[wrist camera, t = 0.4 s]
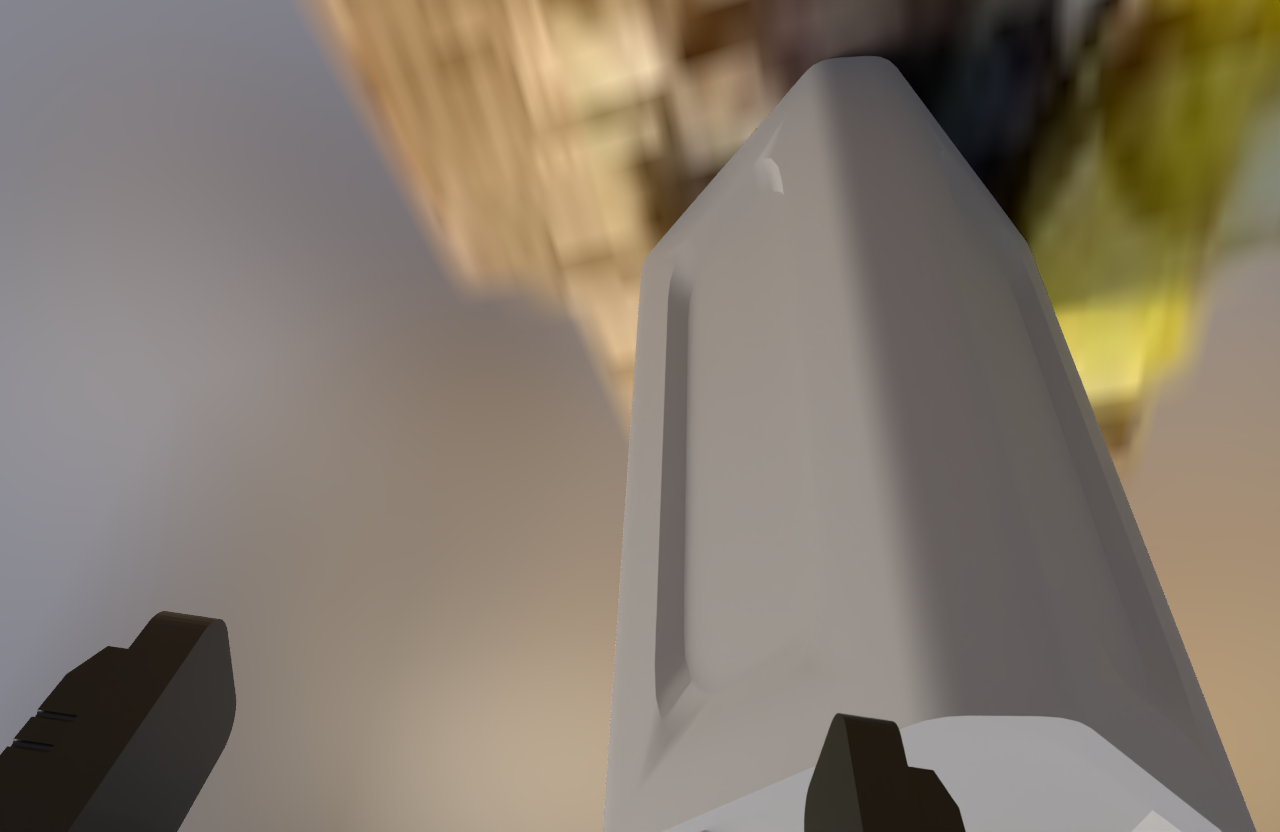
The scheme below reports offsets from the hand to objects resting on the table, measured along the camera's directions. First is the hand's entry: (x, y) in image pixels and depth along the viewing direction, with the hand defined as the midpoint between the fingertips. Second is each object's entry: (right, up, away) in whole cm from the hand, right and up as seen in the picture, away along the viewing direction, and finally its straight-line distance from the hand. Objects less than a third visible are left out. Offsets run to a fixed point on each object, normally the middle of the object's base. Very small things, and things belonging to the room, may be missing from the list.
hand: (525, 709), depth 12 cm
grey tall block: (+11, +14, +31) cm, 35 cm away
